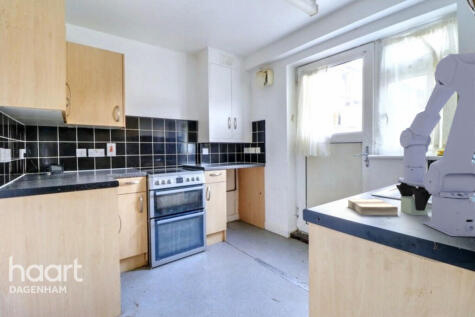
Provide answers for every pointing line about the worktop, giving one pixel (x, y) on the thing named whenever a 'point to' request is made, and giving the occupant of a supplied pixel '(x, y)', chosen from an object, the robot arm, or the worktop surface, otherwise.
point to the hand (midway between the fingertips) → (413, 207)
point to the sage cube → (411, 206)
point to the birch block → (372, 207)
